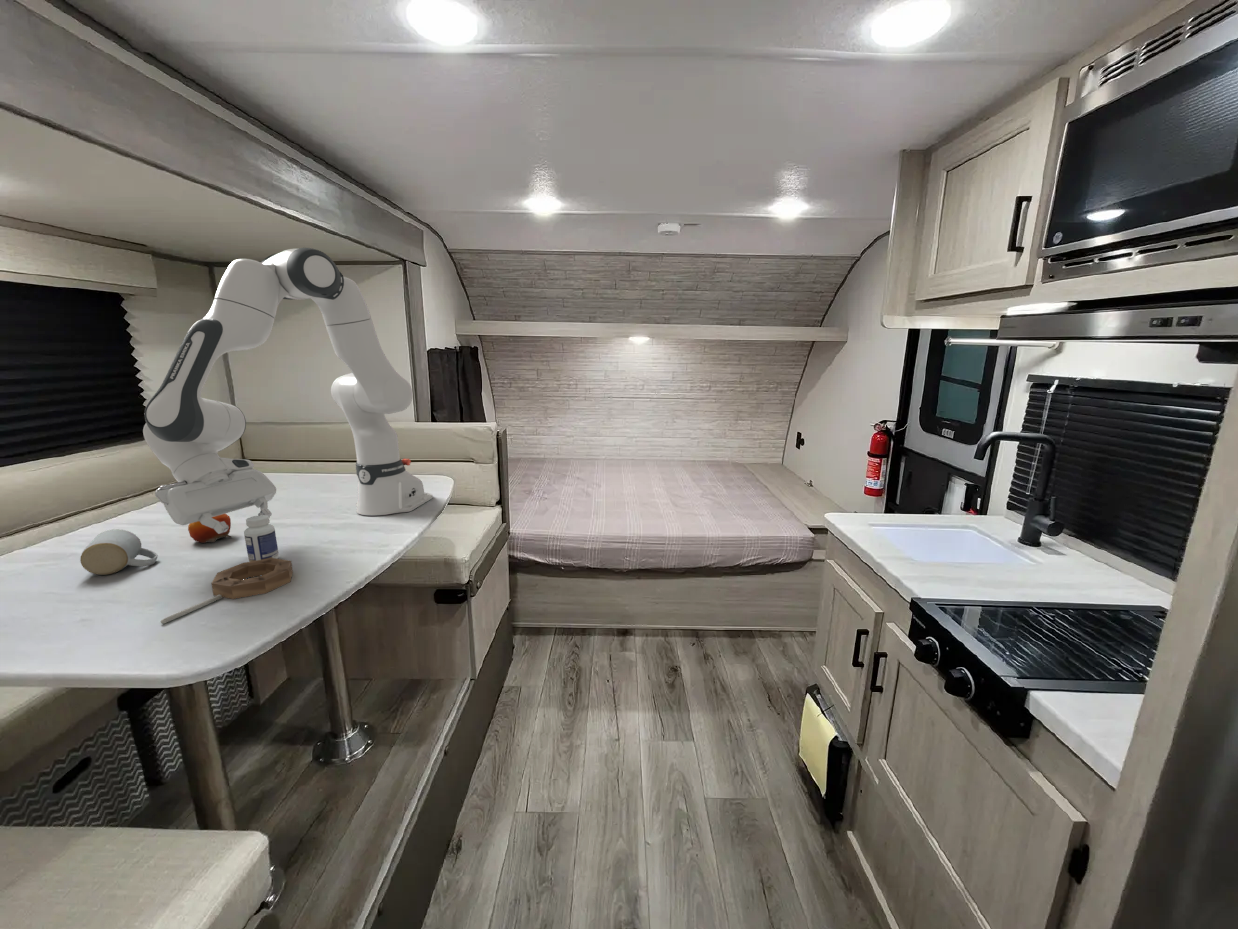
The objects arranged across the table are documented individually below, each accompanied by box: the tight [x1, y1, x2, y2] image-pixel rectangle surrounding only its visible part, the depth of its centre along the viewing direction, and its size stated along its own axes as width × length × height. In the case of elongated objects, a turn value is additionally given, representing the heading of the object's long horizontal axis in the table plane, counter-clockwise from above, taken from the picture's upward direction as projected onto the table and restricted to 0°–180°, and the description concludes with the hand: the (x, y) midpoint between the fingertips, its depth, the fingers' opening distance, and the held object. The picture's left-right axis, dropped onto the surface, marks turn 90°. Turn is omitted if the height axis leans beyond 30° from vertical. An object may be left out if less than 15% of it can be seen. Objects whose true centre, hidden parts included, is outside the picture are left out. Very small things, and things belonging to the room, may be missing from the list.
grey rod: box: [160, 595, 223, 625], centre depth 86 cm, size 9×1×1 cm, turn 164°
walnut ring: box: [211, 558, 294, 600], centre depth 96 cm, size 12×12×2 cm
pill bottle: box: [243, 515, 280, 562], centre depth 106 cm, size 5×5×10 cm
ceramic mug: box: [79, 528, 159, 576], centre depth 103 cm, size 11×8×8 cm
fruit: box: [187, 513, 232, 544], centre depth 119 cm, size 8×8×8 cm
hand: (246, 523), depth 106 cm, fingers open, 8 cm apart
